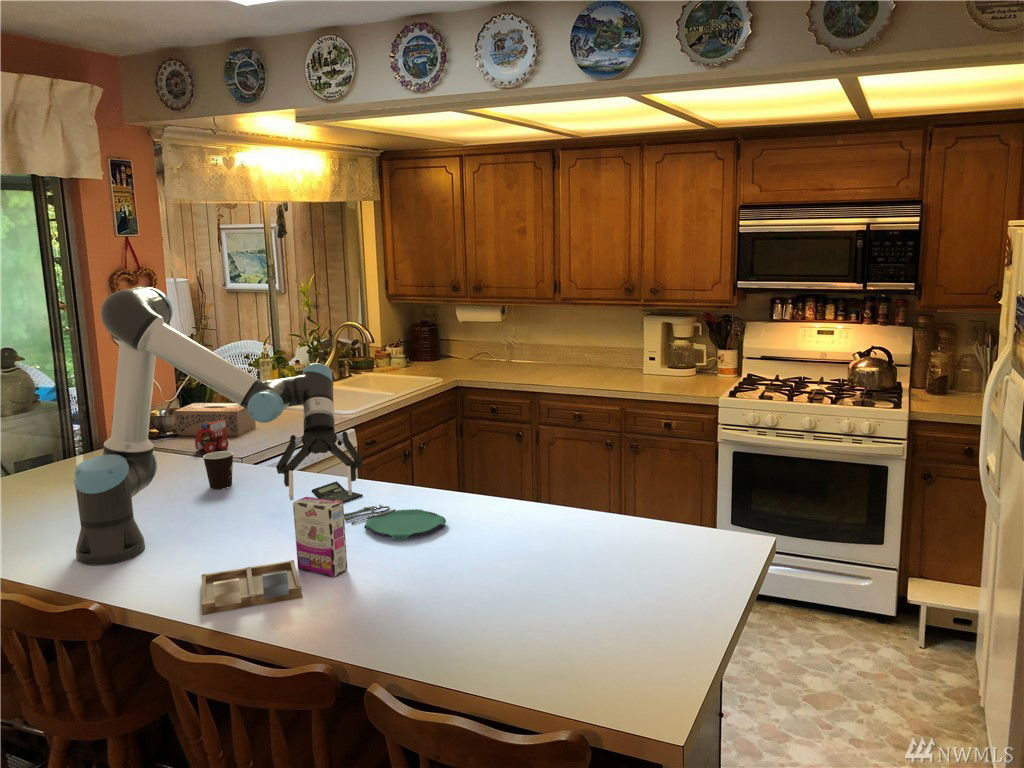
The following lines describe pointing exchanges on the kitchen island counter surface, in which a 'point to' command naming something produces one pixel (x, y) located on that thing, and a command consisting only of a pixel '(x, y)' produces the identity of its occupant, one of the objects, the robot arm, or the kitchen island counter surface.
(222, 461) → the coffee mug
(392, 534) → the cutlery set
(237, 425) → the tissue box cover
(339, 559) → the candy bar box
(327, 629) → the kitchen island counter surface
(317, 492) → the calculator
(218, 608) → the divided tray
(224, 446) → the toy fire truck
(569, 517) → the kitchen island counter surface
